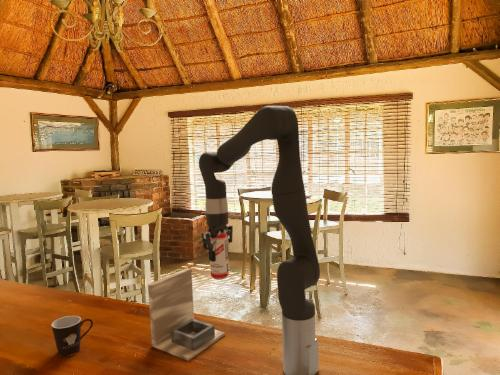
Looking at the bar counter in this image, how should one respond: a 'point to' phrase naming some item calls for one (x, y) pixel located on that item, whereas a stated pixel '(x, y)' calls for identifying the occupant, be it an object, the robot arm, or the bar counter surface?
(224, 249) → the beer can
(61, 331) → the coffee mug
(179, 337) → the can rack
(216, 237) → the robot arm
